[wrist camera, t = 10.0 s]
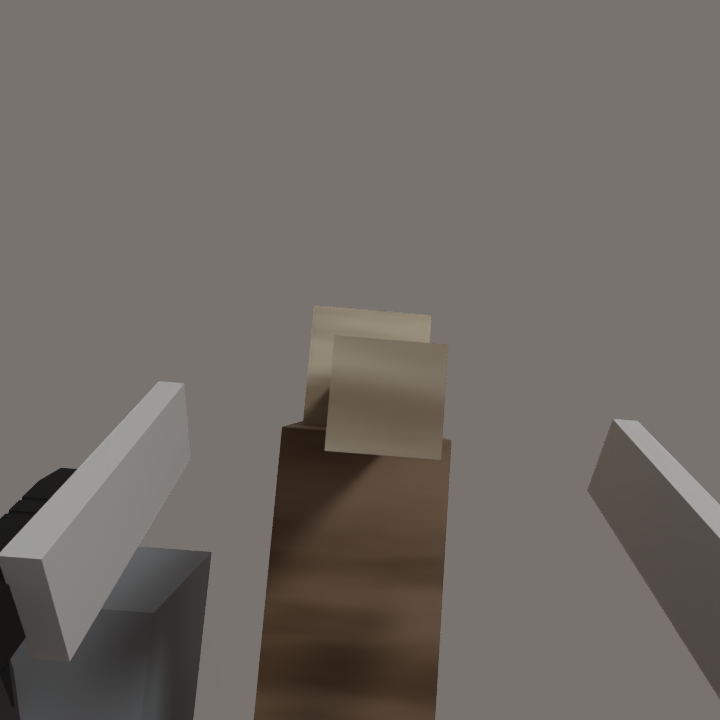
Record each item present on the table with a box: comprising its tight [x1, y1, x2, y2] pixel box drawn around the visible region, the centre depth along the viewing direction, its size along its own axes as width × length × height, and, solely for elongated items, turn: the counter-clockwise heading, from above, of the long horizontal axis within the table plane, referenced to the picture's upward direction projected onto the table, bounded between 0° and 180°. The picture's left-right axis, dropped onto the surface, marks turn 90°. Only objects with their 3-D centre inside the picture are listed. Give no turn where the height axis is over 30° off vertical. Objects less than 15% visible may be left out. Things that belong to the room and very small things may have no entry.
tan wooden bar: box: [303, 306, 448, 460], centre depth 22 cm, size 20×7×7 cm, turn 1°
